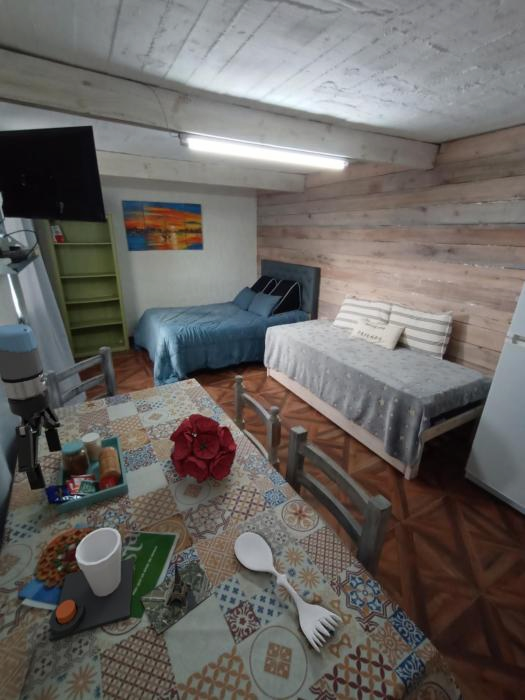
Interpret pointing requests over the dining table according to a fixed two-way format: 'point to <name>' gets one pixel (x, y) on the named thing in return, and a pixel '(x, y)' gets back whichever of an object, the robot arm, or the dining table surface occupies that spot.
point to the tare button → (66, 611)
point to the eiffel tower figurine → (177, 595)
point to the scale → (93, 603)
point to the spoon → (259, 558)
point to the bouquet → (202, 449)
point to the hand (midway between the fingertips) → (47, 468)
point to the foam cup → (101, 560)
